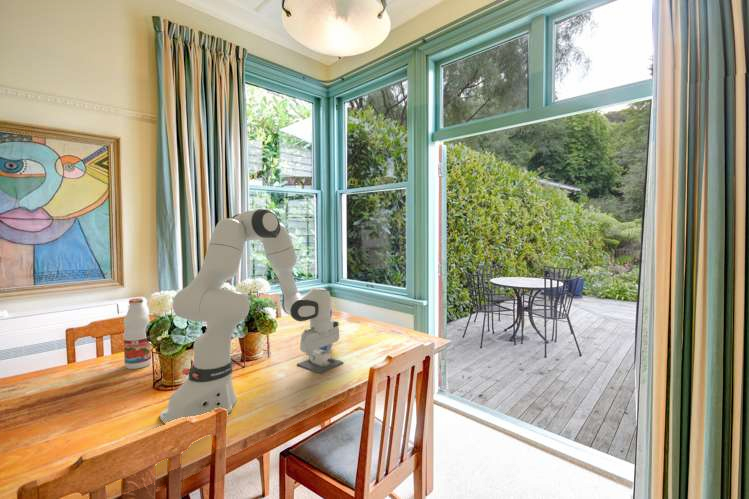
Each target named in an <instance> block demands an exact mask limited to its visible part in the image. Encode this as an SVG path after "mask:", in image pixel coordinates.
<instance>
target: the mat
mask: <svg viewBox="0 0 749 499" xmlns="http://www.w3.org/2000/svg"><path fill="white" fill-rule="evenodd" d="M330 359H332V360H335V362H334V363H331V362H330V365H329V366H326V367H324V366H320V365H317V364H314V363H312V362H311V360H310V358H308V359H306V360H303V361H300V362H298V363H296V366H298V367H300V368H303V369H306V370H308V371H311V372H314V373H317V374H320V375H321V374H323V373H325V372H327V371H330V370H332V369H334V368H336V367H338V366H340V365H343V364H344V361H342V360H339V359H336V358H333V357H330Z"/></svg>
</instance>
